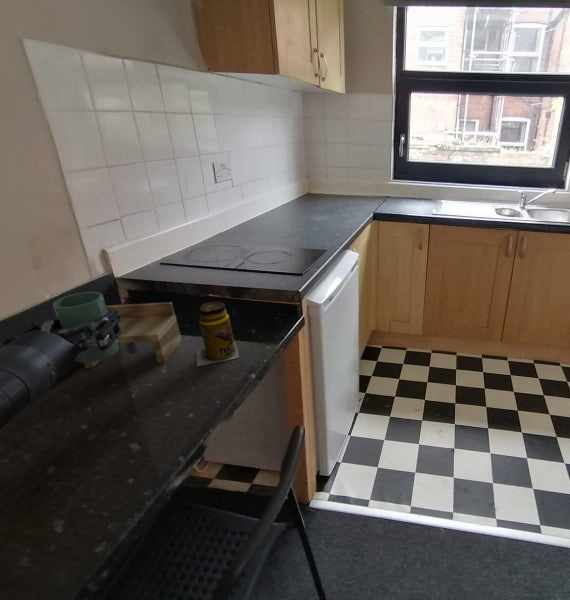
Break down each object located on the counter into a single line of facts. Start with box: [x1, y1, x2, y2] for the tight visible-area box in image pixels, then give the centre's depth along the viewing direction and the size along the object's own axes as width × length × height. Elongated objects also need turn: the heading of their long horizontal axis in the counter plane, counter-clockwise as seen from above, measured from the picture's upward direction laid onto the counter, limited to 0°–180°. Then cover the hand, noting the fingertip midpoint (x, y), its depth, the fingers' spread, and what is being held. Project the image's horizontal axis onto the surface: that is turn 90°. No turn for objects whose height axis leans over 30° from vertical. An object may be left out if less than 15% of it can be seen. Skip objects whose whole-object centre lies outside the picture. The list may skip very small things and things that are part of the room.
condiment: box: [195, 301, 240, 368], centre depth 88 cm, size 7×8×12 cm
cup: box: [52, 291, 120, 364], centre depth 67 cm, size 6×6×10 cm
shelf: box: [83, 301, 183, 369], centre depth 89 cm, size 16×10×10 cm, turn 97°
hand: (93, 315), depth 69 cm, fingers closed on cup, 6 cm apart
